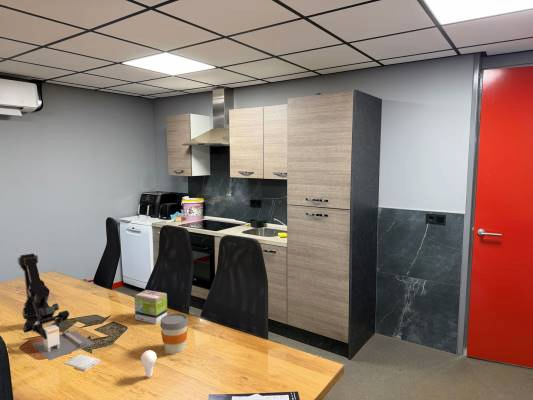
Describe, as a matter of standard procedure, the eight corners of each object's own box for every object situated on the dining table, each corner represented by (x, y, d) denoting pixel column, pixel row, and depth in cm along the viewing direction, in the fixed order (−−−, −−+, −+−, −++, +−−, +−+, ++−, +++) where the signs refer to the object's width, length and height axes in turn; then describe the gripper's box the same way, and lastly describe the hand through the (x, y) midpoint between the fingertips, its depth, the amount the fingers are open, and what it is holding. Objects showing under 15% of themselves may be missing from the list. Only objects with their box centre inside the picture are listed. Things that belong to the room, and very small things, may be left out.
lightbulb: (143, 373, 153) (142, 347, 152) (158, 372, 154) (157, 347, 153) (139, 381, 147) (138, 355, 146) (155, 380, 148) (154, 354, 147)
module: (44, 348, 173) (42, 328, 172) (55, 344, 177) (54, 324, 176) (48, 352, 169) (47, 331, 168) (60, 347, 173) (58, 327, 172)
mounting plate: (31, 346, 176) (31, 344, 176) (74, 331, 192) (74, 330, 192) (49, 361, 162) (49, 360, 162) (94, 344, 178) (94, 343, 178)
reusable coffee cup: (193, 345, 177) (192, 315, 176) (179, 358, 165) (178, 326, 164) (171, 341, 181) (170, 311, 180) (155, 353, 169) (154, 322, 168)
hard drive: (64, 362, 160) (85, 368, 155) (80, 353, 167) (100, 359, 162) (64, 366, 160) (85, 372, 155) (80, 357, 167) (101, 362, 162)
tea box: (134, 320, 206) (133, 294, 204) (146, 313, 215) (145, 289, 213) (156, 324, 200) (155, 298, 198) (168, 317, 209) (167, 292, 208)
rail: (62, 335, 186) (62, 332, 186) (68, 333, 188) (68, 330, 188) (80, 347, 173) (79, 344, 173) (86, 345, 176) (86, 341, 175)
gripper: (23, 305, 166) (33, 335, 160) (66, 294, 181) (77, 321, 175) (18, 317, 172) (28, 347, 166) (61, 305, 186) (71, 333, 180)
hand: (52, 336), depth 172 cm, fingers closed on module, 5 cm apart
